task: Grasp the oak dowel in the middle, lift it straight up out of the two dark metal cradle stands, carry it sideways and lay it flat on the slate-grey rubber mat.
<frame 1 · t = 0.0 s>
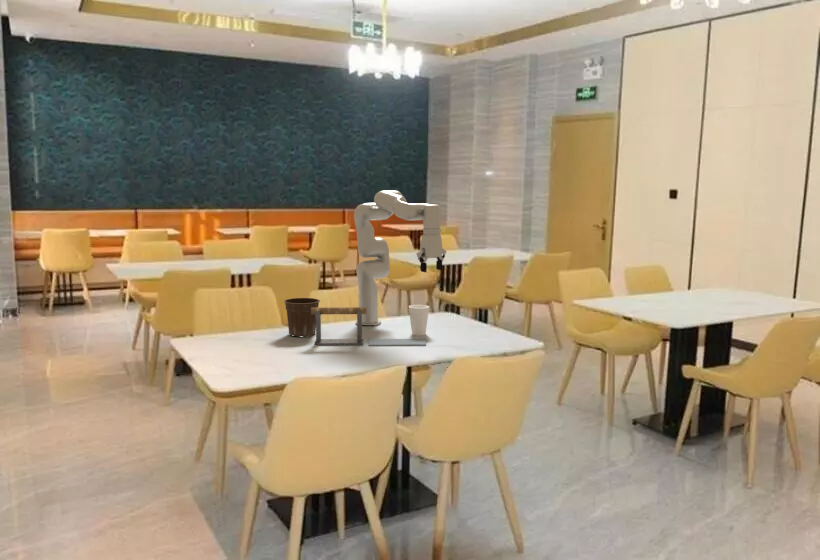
hand: (431, 270, 319), 31 cm above the table, tool pointing down, fingers open, 9 cm apart
plant pot: (302, 334, 332), on the table
foam cup: (418, 334, 334), on the table
oak dowel: (338, 314, 313), point 13 cm above the table, touching cradle stands
cradle stands: (339, 343, 315), on the table
slate mat: (397, 342, 316), on the table
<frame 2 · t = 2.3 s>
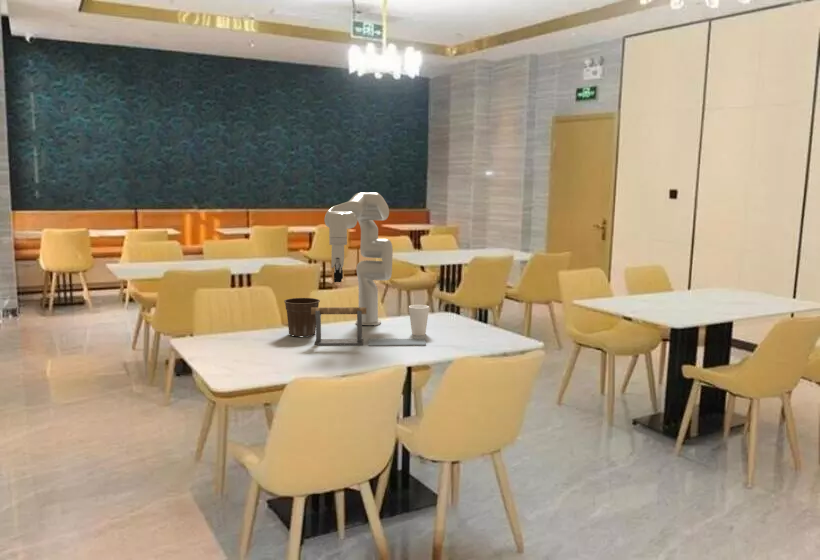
hand: (338, 280, 310), 28 cm above the table, tool pointing down, fingers open, 9 cm apart
nothing on the table moved.
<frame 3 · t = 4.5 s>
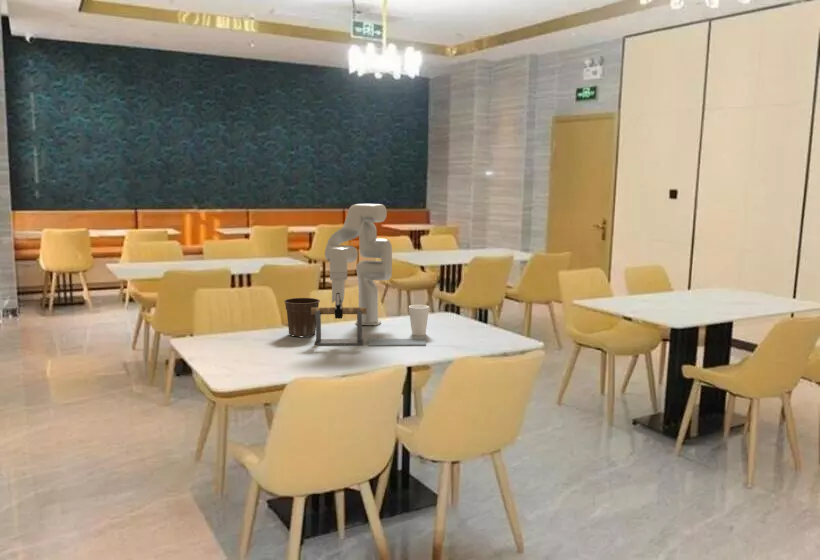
hand: (338, 317, 313), 12 cm above the table, tool pointing down, fingers closed on oak dowel, 3 cm apart
oak dowel: (338, 314, 313), point 13 cm above the table, touching cradle stands, gripper
everything else where it was.
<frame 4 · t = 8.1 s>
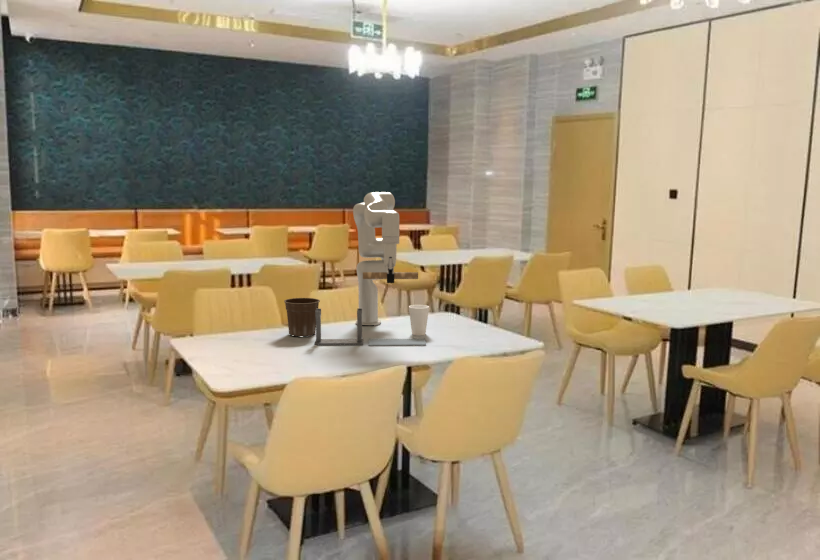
hand: (390, 282, 311), 27 cm above the table, tool pointing down, fingers closed on oak dowel, 3 cm apart
oak dowel: (390, 279, 311), point 29 cm above the table, touching gripper
everything else where it was.
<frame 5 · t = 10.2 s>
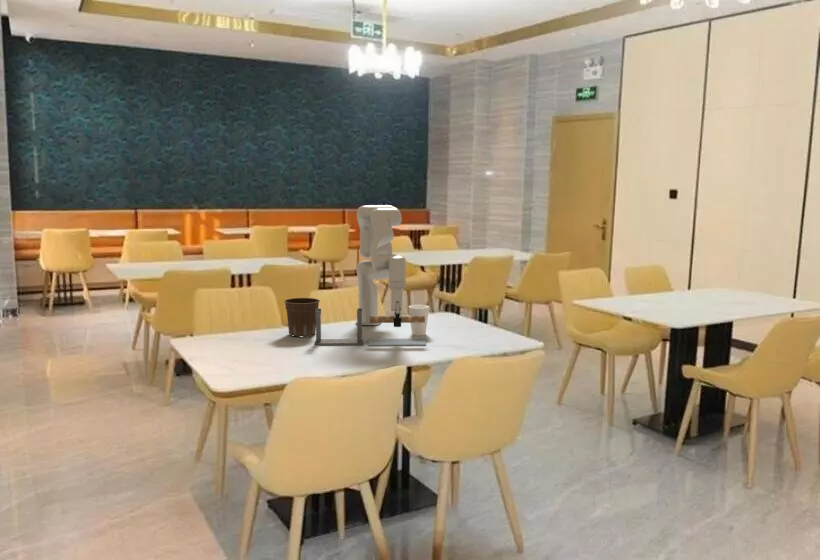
hand: (397, 325, 314), 8 cm above the table, tool pointing down, fingers closed on oak dowel, 3 cm apart
oak dowel: (397, 322, 314), point 9 cm above the table, touching gripper
everything else where it was.
when the fingers open (1 cm above the table, at t = 11.9 s): oak dowel drops 2 cm, resting on slate mat.
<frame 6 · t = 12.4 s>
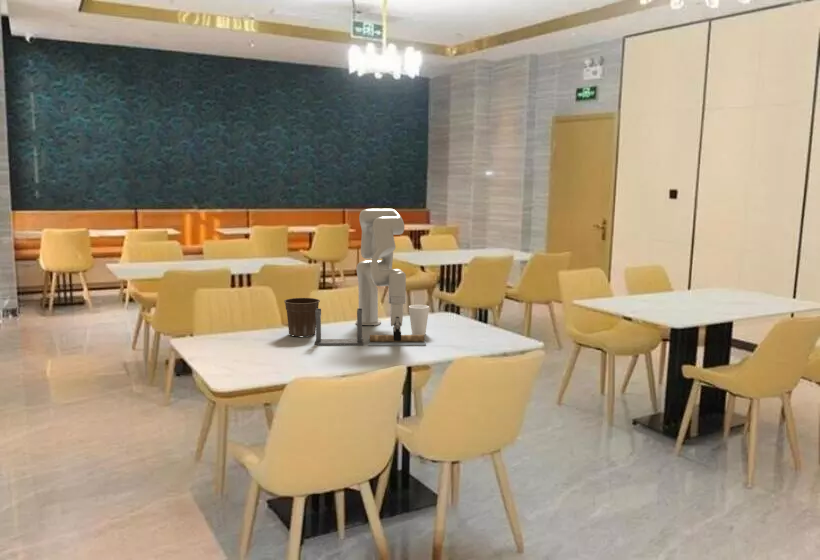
hand: (397, 338, 315), 2 cm above the table, tool pointing down, fingers open, 8 cm apart
oak dowel: (397, 341, 316), point 1 cm above the table, touching slate mat
everything else where it was.
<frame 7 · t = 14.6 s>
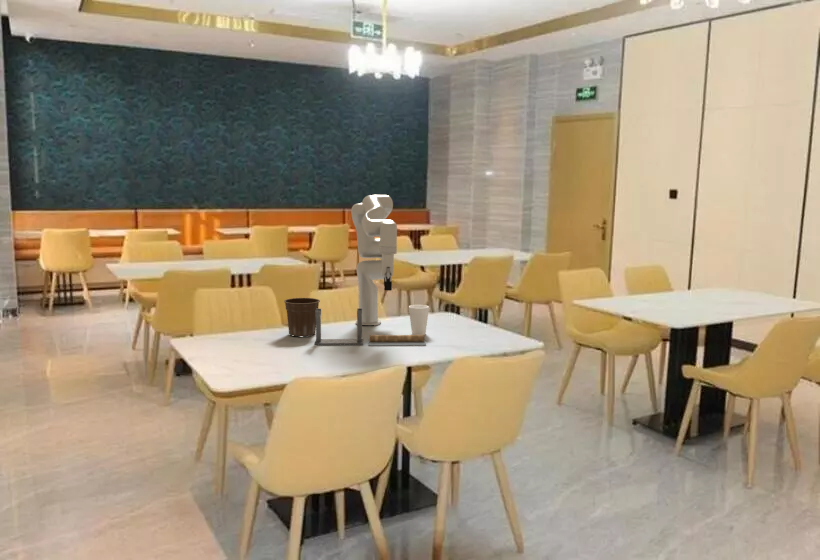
hand: (387, 288, 317), 24 cm above the table, tool pointing down, fingers open, 9 cm apart
nothing on the table moved.
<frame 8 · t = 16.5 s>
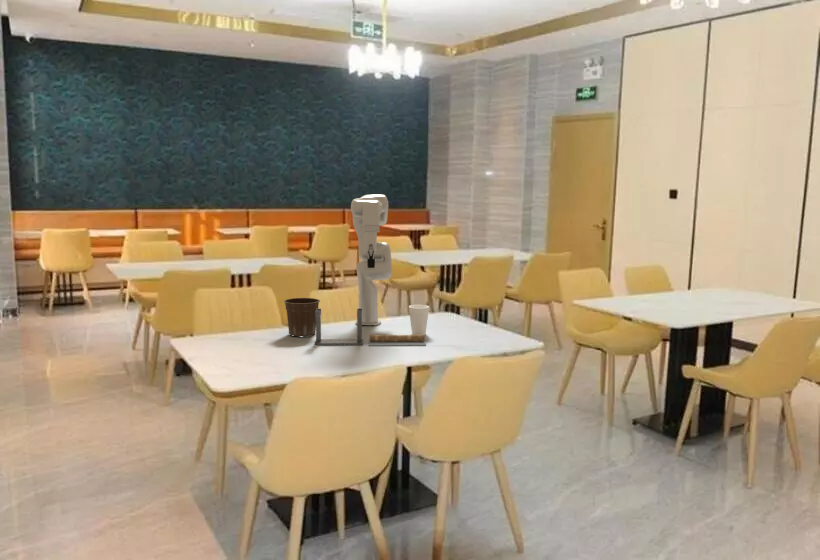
hand: (371, 266, 324), 32 cm above the table, tool pointing down, fingers open, 9 cm apart
nothing on the table moved.
at the end: oak dowel inside the target area on the slate mat (0.1 cm from its centre), point 0.6 cm above the slate mat's base; oak dowel touching slate mat; the gripper is holding nothing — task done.
